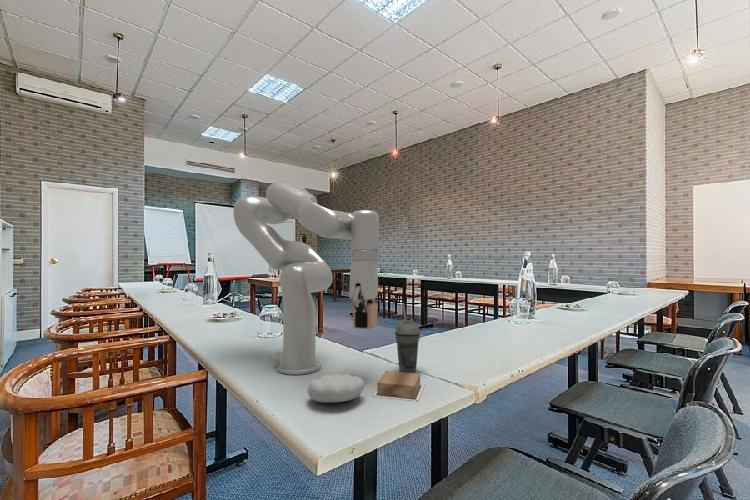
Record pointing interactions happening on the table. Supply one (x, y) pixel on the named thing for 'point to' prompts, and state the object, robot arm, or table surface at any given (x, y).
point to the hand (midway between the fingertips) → (365, 324)
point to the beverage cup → (407, 344)
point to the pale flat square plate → (404, 398)
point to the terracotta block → (368, 315)
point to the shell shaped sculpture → (335, 388)
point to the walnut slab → (398, 384)
